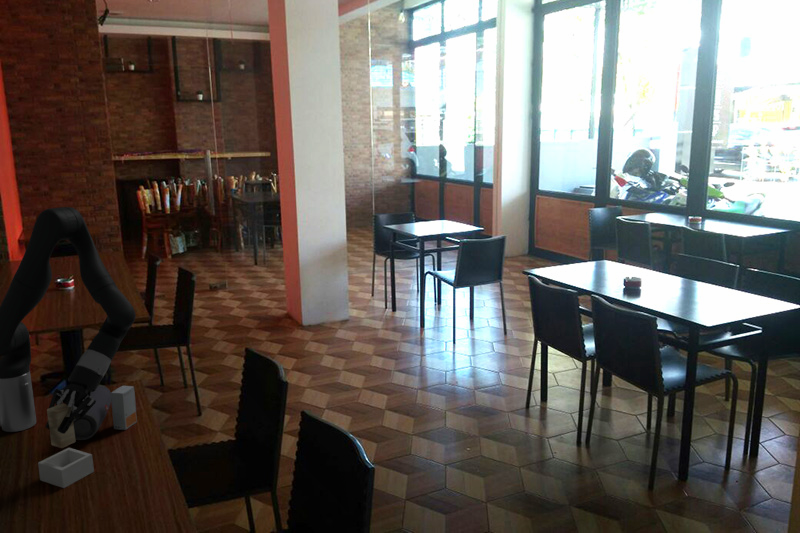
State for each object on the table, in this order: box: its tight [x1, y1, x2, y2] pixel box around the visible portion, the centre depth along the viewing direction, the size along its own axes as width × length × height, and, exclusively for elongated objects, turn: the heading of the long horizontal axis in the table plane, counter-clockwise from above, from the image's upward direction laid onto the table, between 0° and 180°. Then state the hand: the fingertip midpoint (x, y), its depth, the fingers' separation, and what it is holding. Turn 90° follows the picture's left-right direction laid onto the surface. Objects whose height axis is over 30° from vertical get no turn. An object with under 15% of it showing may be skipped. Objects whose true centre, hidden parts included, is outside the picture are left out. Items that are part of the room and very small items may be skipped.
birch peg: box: [46, 403, 77, 449], centre depth 164 cm, size 4×4×10 cm
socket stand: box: [37, 447, 95, 489], centre depth 167 cm, size 9×9×5 cm
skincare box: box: [110, 385, 138, 431], centre depth 195 cm, size 6×4×12 cm
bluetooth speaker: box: [72, 384, 112, 441], centre depth 194 cm, size 23×9×10 cm, turn 14°
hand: (54, 430), depth 163 cm, fingers closed on birch peg, 4 cm apart
